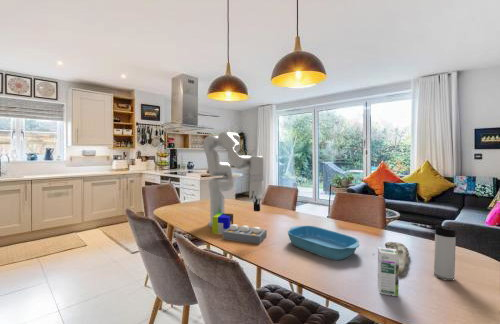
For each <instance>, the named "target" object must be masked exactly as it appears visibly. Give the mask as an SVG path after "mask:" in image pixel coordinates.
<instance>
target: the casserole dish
mask: <svg viewBox="0 0 500 324" xmlns="http://www.w3.org/2000/svg"><path fill="white" fill-rule="evenodd" d="M287 235H288V238H289V240H290V243H291V244H292V245H293V246H295V247H297V248H299V249H302V250H305V251H308V252H310V253H312V254H315V255H317V254H318V256H320V255H321V256H320V257H323V256H324V257H323V258H327V259H329V258H330V259H329V260H333V259H334V260H333V261H341V260H344V259H346V258H348V257H350V256H351V255H352V254H354V253H355V252H356V249H358V248H359V247H360V246H361V245H360V240H359V239H358V238H356V237H353V236H351V235H349V234H348V235H347V234H343V233H340V232H337V231H333V230H331V229H330V230H329V229H326V228H322V227H319V226H314V225H298V226H292V227H290V228H289V230H287Z"/></svg>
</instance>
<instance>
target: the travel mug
mask: <svg viewBox="0 0 500 324" xmlns="http://www.w3.org/2000/svg"><path fill="white" fill-rule="evenodd" d="M456 234H457V230H456V229H454V228H451V227H449V226H444V225H435V230H434V259H433V261H434V262H433V275H434V276H435V277H436V276H437V277H439V278H442V279H446V280H453V279H454V278H455V277H456V276H455V273H456V272H455V271H456V244H457V243H456V241H457V240H456V238H457V236H456ZM437 277H436V278H437ZM439 278H438V279H439ZM442 279H441V280H442ZM455 279H456V278H455ZM455 279H454V280H455ZM446 280H445V281H446ZM454 280H453V281H454Z"/></svg>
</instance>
